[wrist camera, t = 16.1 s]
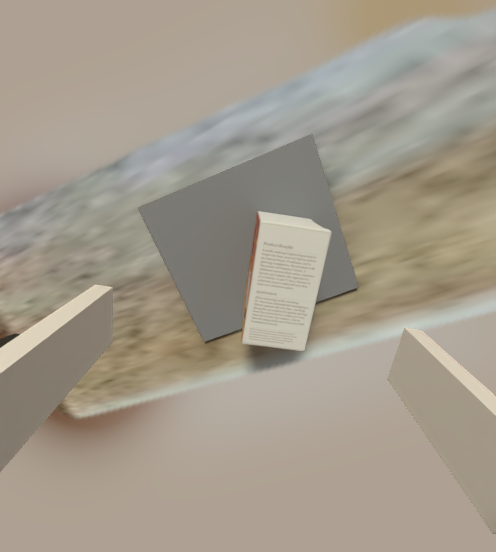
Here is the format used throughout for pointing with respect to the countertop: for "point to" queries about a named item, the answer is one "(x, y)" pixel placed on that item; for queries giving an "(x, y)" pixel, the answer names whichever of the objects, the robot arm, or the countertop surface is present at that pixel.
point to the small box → (283, 280)
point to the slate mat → (242, 231)
